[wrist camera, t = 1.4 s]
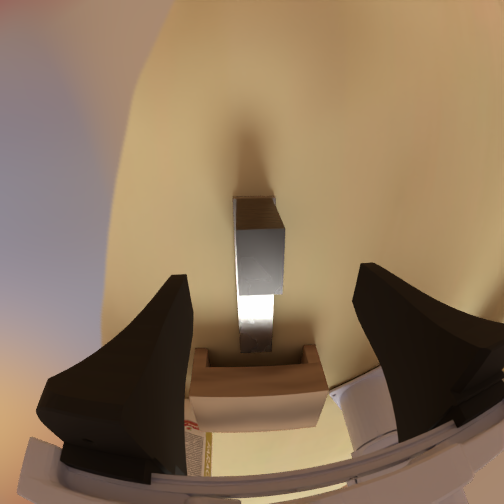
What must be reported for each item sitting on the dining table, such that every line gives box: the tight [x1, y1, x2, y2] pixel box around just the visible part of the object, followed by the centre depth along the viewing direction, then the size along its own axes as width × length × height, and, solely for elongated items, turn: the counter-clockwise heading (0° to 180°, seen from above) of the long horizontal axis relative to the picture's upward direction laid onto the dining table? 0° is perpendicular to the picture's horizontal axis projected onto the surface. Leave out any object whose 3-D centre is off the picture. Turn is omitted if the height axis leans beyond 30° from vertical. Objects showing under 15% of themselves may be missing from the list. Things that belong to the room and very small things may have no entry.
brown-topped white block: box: [233, 196, 285, 353], centre depth 21 cm, size 15×3×7 cm, turn 1°
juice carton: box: [184, 399, 213, 477], centre depth 23 cm, size 8×9×19 cm
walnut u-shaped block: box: [189, 344, 329, 433], centre depth 26 cm, size 8×12×6 cm
